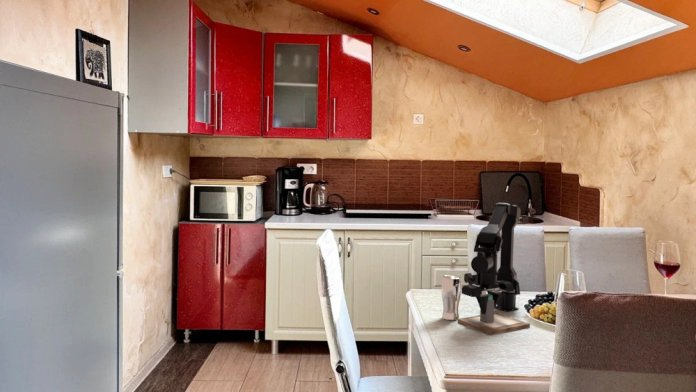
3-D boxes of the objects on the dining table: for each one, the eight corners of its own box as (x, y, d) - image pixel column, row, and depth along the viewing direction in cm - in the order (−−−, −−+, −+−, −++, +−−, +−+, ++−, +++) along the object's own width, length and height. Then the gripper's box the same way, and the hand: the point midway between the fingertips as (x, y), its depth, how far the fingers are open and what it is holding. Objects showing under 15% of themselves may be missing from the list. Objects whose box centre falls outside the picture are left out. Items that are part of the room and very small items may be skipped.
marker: (494, 322, 196) (494, 295, 195) (486, 323, 194) (487, 296, 193) (487, 319, 199) (487, 293, 198) (479, 320, 197) (480, 294, 196)
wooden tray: (496, 315, 209) (496, 309, 209) (529, 327, 195) (530, 320, 195) (457, 322, 201) (457, 316, 200) (490, 335, 187) (490, 328, 186)
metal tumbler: (460, 321, 201) (461, 279, 200) (440, 320, 203) (441, 278, 201) (460, 316, 208) (461, 275, 207) (441, 315, 209) (442, 274, 208)
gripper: (492, 261, 207) (491, 304, 208) (451, 266, 197) (450, 311, 199) (515, 267, 197) (513, 312, 198) (473, 272, 188) (472, 319, 189)
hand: (487, 313), depth 196 cm, fingers closed on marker, 3 cm apart
